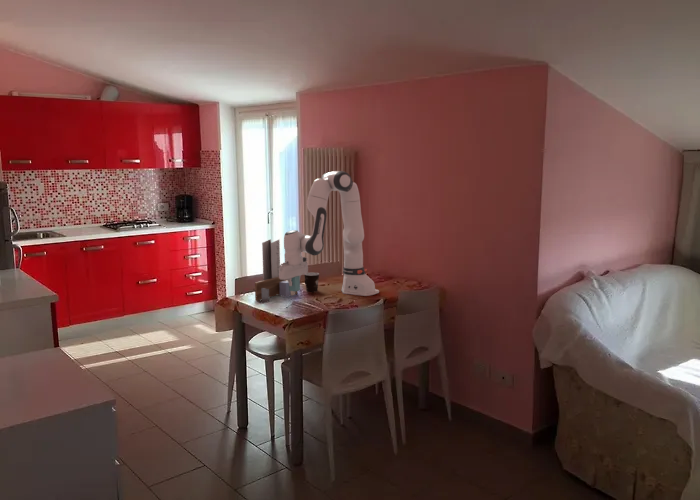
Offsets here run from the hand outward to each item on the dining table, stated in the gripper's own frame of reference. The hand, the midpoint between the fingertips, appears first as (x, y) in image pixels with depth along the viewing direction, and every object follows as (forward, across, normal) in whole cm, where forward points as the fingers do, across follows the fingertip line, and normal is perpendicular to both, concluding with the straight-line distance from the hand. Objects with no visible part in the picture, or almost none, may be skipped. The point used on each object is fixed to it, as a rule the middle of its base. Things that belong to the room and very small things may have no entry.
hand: (294, 284), depth 326 cm
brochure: (+8, +6, +23) cm, 25 cm away
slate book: (+8, +3, +10) cm, 14 cm away
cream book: (+8, +7, +10) cm, 15 cm away
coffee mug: (+9, +20, +7) cm, 23 cm away
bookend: (+8, -14, +11) cm, 19 cm away
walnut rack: (+8, -2, +13) cm, 15 cm away
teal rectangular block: (+3, 0, 0) cm, 3 cm away
